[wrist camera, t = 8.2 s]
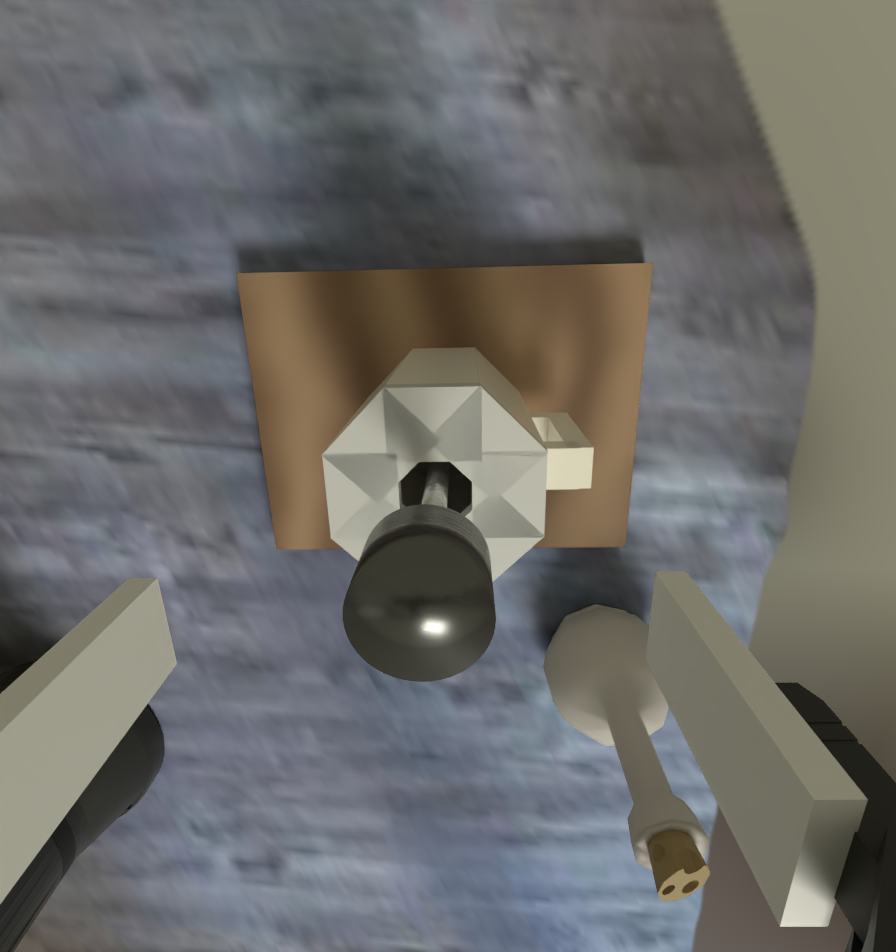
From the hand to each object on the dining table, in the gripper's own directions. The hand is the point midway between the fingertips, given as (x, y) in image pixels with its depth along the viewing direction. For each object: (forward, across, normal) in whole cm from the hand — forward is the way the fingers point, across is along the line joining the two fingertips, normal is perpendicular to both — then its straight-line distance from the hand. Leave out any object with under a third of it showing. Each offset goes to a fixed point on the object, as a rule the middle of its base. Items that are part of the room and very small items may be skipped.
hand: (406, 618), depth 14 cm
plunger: (+20, +1, 0) cm, 20 cm away
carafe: (+21, +2, 0) cm, 21 cm away
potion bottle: (+23, +12, -18) cm, 31 cm away
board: (+23, +1, 0) cm, 23 cm away
